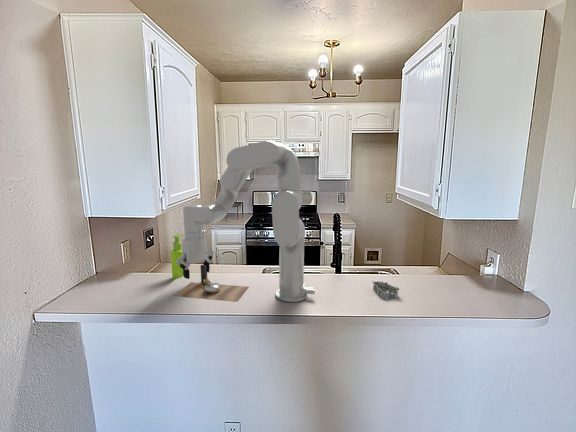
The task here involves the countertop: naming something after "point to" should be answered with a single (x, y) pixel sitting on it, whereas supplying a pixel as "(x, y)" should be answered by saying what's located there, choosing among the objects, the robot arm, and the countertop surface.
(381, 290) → the rough grey rock
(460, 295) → the countertop surface
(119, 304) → the countertop surface
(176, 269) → the soap dispenser
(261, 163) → the robot arm
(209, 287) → the ice cream scoop
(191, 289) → the brown flat rectangular board
